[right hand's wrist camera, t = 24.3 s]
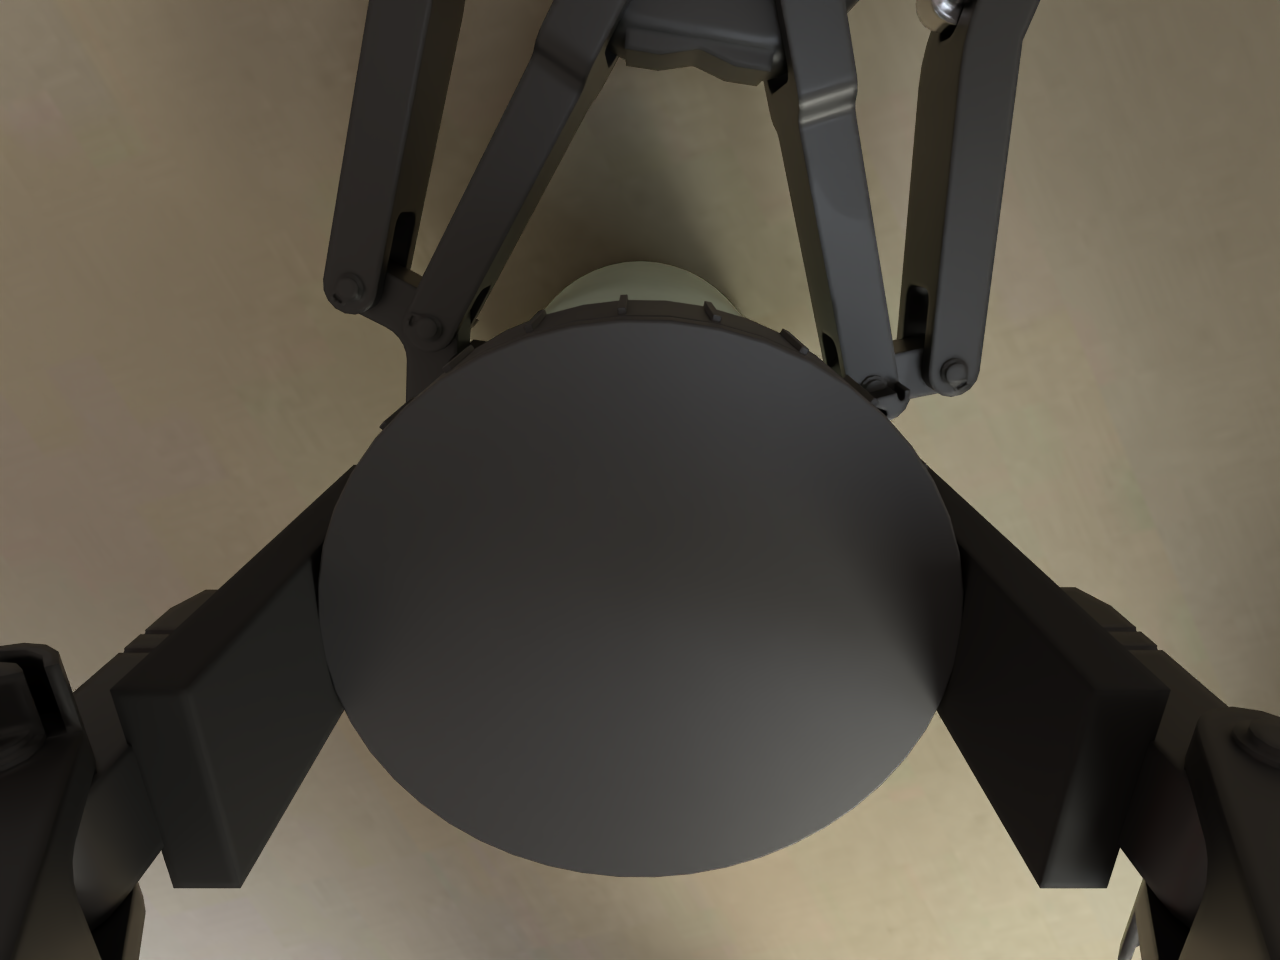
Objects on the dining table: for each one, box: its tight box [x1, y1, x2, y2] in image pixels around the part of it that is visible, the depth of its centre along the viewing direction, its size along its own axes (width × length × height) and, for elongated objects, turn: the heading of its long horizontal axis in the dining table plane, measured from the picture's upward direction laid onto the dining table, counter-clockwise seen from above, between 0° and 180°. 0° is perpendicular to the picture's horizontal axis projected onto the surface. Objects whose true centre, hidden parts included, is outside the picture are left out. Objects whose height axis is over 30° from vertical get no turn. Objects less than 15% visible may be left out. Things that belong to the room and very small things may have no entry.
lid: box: [318, 294, 964, 877], centre depth 11 cm, size 9×9×2 cm
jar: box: [545, 261, 743, 317], centre depth 18 cm, size 8×8×15 cm
